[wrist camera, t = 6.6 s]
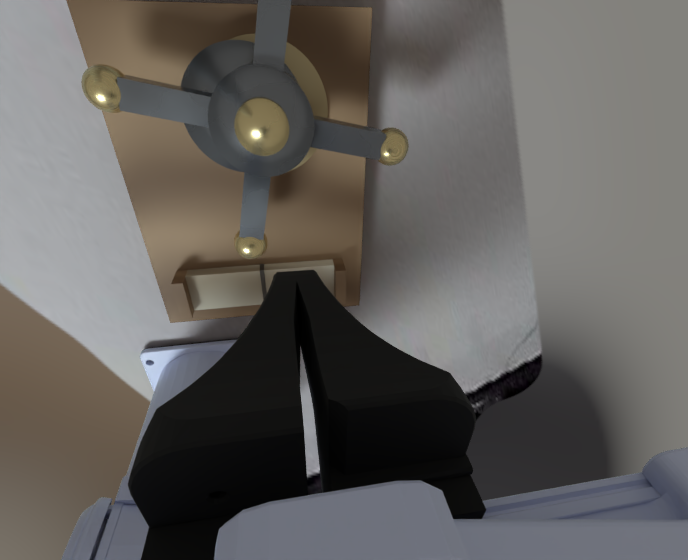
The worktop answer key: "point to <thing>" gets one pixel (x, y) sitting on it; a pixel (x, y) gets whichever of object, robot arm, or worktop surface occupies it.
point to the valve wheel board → (225, 184)
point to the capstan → (245, 114)
